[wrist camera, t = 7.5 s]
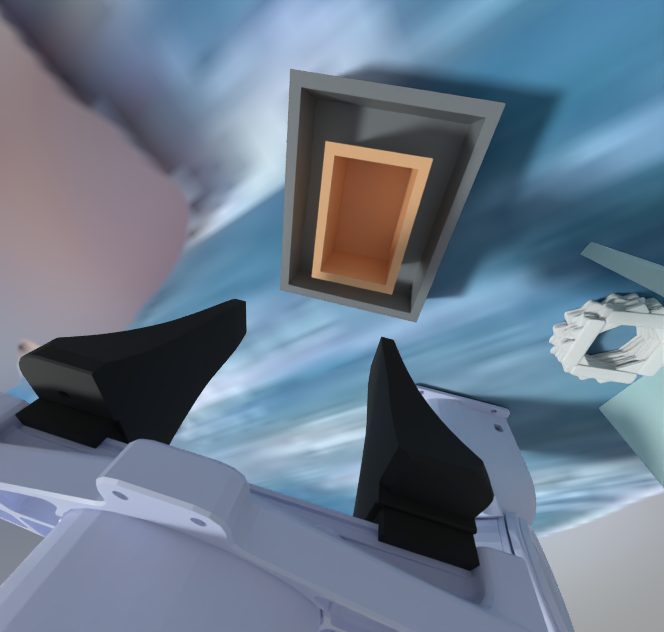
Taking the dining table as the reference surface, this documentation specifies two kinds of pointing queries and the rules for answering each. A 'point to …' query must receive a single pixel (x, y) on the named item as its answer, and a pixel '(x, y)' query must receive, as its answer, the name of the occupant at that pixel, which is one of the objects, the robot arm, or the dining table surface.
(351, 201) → the small crate
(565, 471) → the dining table surface
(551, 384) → the dining table surface
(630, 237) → the dining table surface
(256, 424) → the dining table surface
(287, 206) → the big crate
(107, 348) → the robot arm
